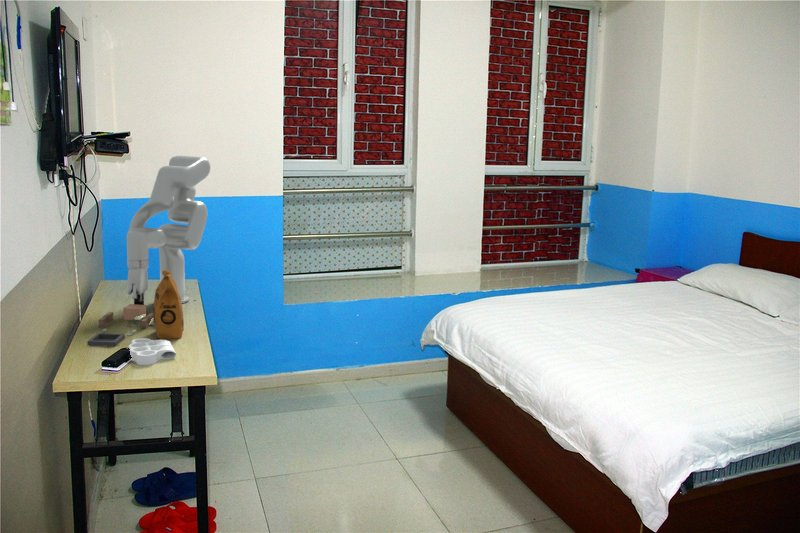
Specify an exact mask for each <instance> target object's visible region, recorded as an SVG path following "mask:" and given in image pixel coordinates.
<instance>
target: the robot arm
mask: <svg viewBox="0 0 800 533" xmlns="http://www.w3.org/2000/svg"><path fill="white" fill-rule="evenodd" d="M210 171H211V164H210V162H209V160H208V159H207V158H206V157H202V156H191V155H175V156H172V157H171V158H170V159H169V161H168V165H163V166H162V167H160V168H159V170H158V172H157V175H156V178H155V182H154V185H153V187H152V191H151V194H150V197H149V200H148V201H147V202H146V203H144V204H143V205H142V206H141V207H140V208H139V209H138V210H137V211H136V212H135V213H134V215H133V217H132V219H131V221H130V224H129V228H128V232H127V234H126V254H127V255H126V256H127V257H126V258H127V259H126V264H127V268H128V273H127V287H126V288H127V294H128V295H131V294H132V299H133V304H137V305H145V292H146V291H147V290H148V288H149V284H148V283H149V276H148V269H149V267H150V264H149V263H150V261H149V259H150V257H149V255H150V254H149V250H150V249H158V251H159V278H160V279H159V280H160V281H159V283H160V282H161V281H162V279H163V278H164V275H163V274H162V272H163V271H164V270H165V269H166V270H168V271H169V272H170V273H171V277H172V278H173V280H174V281H175V283H176V285H177V289H178V292H179V296H180V299H181V304H184V303H187V302H189V300H190V296H188V295H186V282H185V281H186V280H185V278H186V277H185V276H186V271H185V264H186V262H185V256H184V253H183V251H182V250H190V251H191V250H196V249H197V248H198V247H199V246H200V243H201V241H202V238H203V234H204V231H205V228H206V224H207V221H208V220H207V219H208V216H209V214H208V206H206V204H205V203H204V202H202V201H199V200H195V197H196V194H197V193H196V187H195V186H196V185H198V184H199V183H201V182H202V181H203V180H205V179H207V177H208V176H209V174H210ZM166 211H167V218H168V219H169V220H170V222H172V223H164V224H162V225H160V226H159V227H158V228H155V227H148V226H146V223H147V222H148V221H149V220H150V219H151V218H152V217H154V216H155V215H159V214H161V213H163V212H166ZM173 222H174V223H175V224H174V223H173ZM176 223H177V224H176ZM178 223H179V224H178ZM185 224H186V225H185ZM181 249H182V250H181Z"/></svg>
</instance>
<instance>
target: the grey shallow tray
mask: <svg viewBox="0 0 800 533" xmlns="http://www.w3.org/2000/svg"><path fill="white" fill-rule="evenodd" d="M125 338H126V333H109V332H107V333H105V332H104V333H99V332H97V333H96V334H94V335H93V336H92V337H91V338H90V339H88V340H87V346H88V345H89V346H91V347H117V346H118V345H119V344H121V343H122V341H124V340H125ZM89 346H88V347H89Z"/></svg>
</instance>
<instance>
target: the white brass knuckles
mask: <svg viewBox="0 0 800 533" xmlns="http://www.w3.org/2000/svg"><path fill="white" fill-rule="evenodd" d="M128 348H129V349H130V350H129V351H130V355H131V357H132V360H131V361H133V362H135V363H136V365H139V366H150V365H154V364H156V363H157V362H158V361H162V360H171V359H172V360H173V359H174V358H175V357H177V352H176V351H175V349H174V346H173V345H172V342H171V341H169V340H168V339H151V338H147V337H141V338H140V337H139V338H134V339H133V340H131V341H130V344H128V346H127V349H128Z"/></svg>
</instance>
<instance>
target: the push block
mask: <svg viewBox="0 0 800 533" xmlns="http://www.w3.org/2000/svg"><path fill="white" fill-rule="evenodd" d="M122 312H123V320H125V321H128V320H129V321H134V320H133V319H134V318H135V317H136V316H140V315H142V314H145V313H146V314H147V305H146V304H144V305H137V304H134V303H133V304H132V303H129V304H128V305H126V306H124V307H123V311H122Z"/></svg>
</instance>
